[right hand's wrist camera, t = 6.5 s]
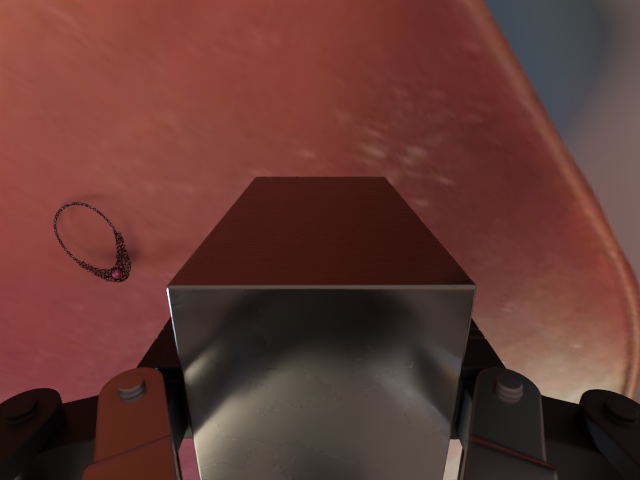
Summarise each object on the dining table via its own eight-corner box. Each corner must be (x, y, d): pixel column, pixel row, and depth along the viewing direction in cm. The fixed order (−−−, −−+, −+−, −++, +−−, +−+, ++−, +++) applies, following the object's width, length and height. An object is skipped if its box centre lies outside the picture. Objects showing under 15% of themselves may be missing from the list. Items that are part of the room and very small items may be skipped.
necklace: (110, 290, 26) (102, 297, 26) (41, 224, 25) (30, 229, 24) (151, 260, 26) (144, 267, 25) (82, 189, 24) (73, 193, 23)
